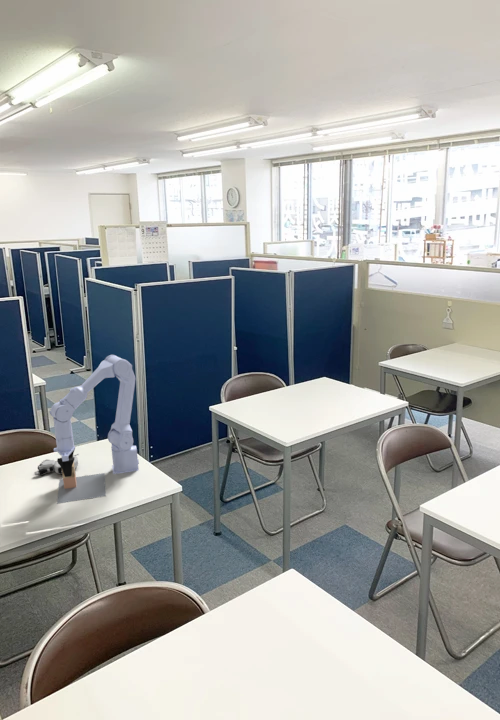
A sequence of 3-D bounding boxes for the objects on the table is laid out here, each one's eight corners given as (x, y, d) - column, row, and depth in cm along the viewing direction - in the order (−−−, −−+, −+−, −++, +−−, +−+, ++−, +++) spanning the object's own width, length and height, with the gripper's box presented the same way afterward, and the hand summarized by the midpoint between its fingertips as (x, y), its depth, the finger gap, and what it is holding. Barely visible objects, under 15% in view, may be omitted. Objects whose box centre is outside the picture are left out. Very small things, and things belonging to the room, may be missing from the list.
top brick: (75, 471, 198) (73, 461, 197) (74, 476, 195) (73, 466, 193) (63, 473, 197) (62, 463, 196) (63, 478, 194) (61, 468, 192)
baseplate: (104, 474, 206) (104, 472, 206) (105, 497, 189) (105, 495, 189) (59, 481, 202) (59, 479, 202) (57, 505, 185) (56, 503, 185)
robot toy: (34, 482, 204) (75, 476, 204) (31, 471, 202) (72, 465, 203) (43, 467, 215) (82, 462, 216) (41, 456, 214) (80, 451, 215)
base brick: (76, 481, 199) (75, 471, 198) (76, 487, 196) (74, 476, 195) (64, 483, 198) (63, 473, 197) (64, 488, 195) (63, 478, 194)
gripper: (53, 429, 198) (58, 464, 201) (50, 445, 184) (55, 482, 188) (73, 427, 199) (78, 461, 203) (72, 442, 186) (77, 479, 190)
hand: (68, 471), depth 195 cm, fingers open, 7 cm apart
